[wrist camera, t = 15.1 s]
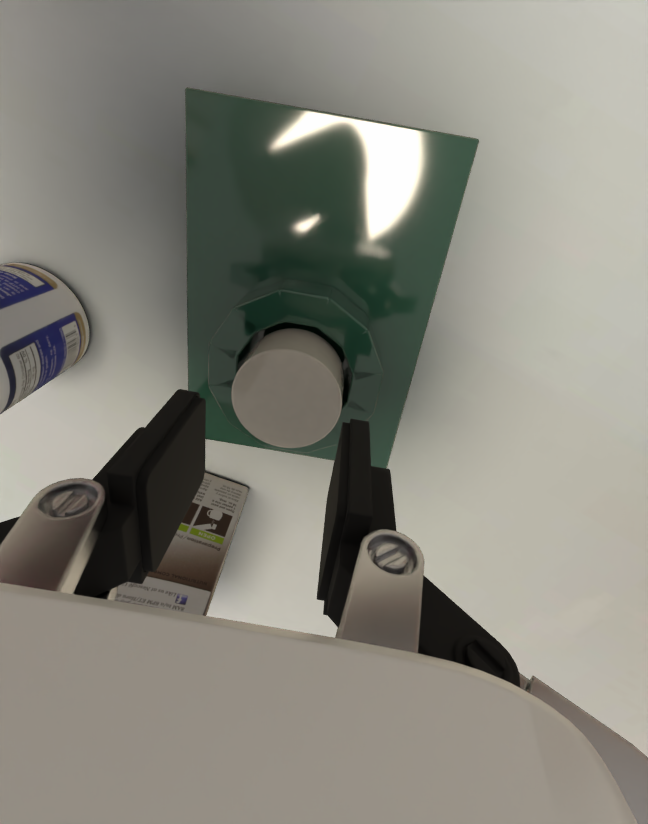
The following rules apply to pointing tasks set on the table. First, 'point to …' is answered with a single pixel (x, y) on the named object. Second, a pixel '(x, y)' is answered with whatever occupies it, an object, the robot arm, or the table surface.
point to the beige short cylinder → (289, 388)
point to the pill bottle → (36, 330)
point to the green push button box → (314, 249)
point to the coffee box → (193, 552)
